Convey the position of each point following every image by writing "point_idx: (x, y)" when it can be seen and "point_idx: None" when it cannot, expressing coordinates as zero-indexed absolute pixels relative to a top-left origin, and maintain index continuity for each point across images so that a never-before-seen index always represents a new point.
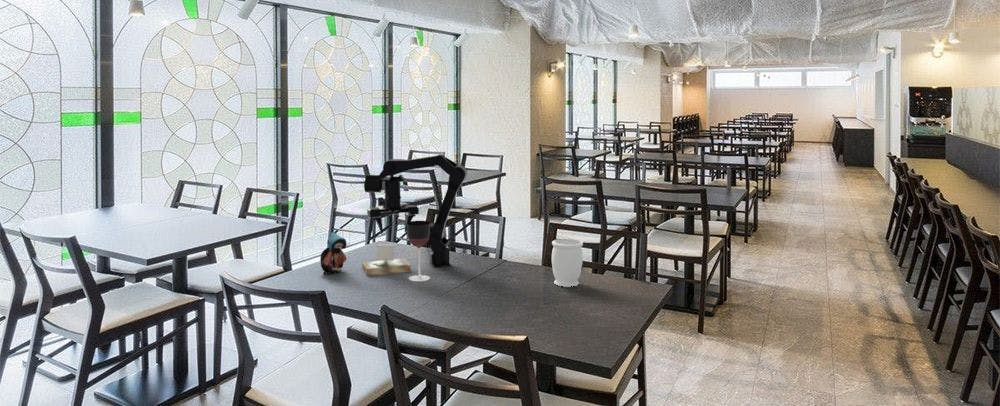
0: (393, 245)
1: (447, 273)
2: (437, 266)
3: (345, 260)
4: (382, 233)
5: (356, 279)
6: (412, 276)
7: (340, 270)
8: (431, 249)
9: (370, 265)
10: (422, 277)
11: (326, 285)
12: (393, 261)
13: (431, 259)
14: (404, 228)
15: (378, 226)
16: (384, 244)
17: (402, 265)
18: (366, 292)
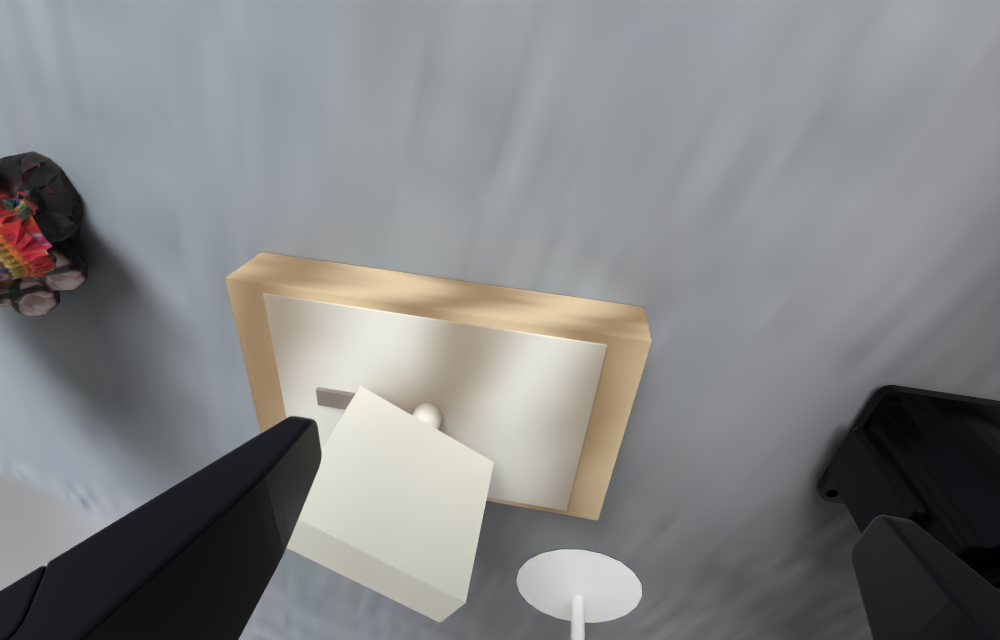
0: (453, 608)
1: (781, 601)
2: (838, 498)
3: (49, 264)
4: (313, 478)
5: (228, 451)
6: (554, 556)
7: (84, 280)
8: (948, 545)
9: (296, 406)
10: (588, 608)
11: (76, 461)
12: (508, 395)
13: (851, 494)
14: (942, 587)
15: (99, 565)
16: (359, 551)
17: (535, 505)
18: (278, 607)
